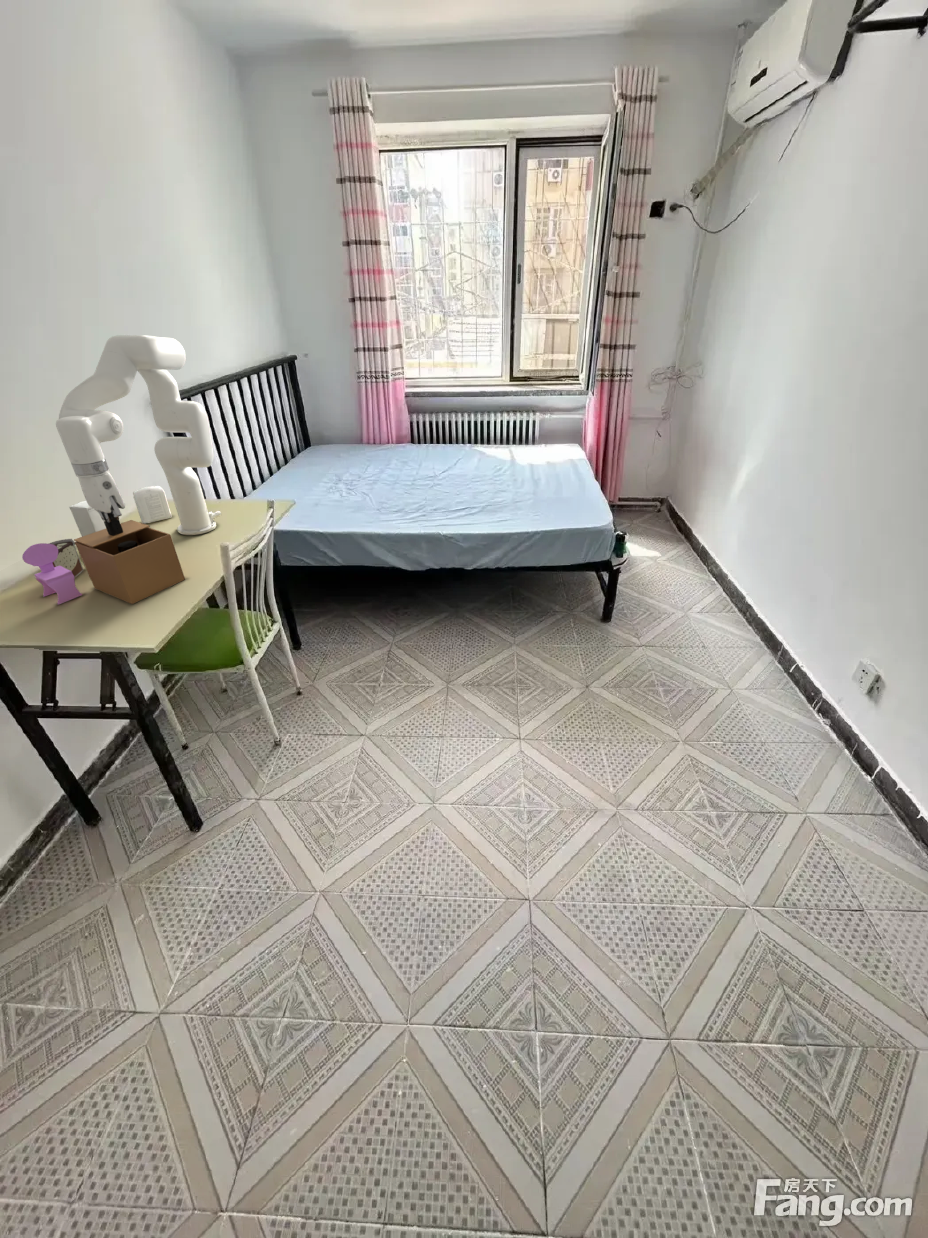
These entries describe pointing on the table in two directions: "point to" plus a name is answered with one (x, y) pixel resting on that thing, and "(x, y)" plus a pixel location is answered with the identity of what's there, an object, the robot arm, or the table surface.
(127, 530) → the carton flap
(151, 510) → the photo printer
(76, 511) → the cosmetic box
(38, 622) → the table surface
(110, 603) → the table surface
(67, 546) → the food container
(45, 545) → the toy chair
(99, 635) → the table surface
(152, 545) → the carton
